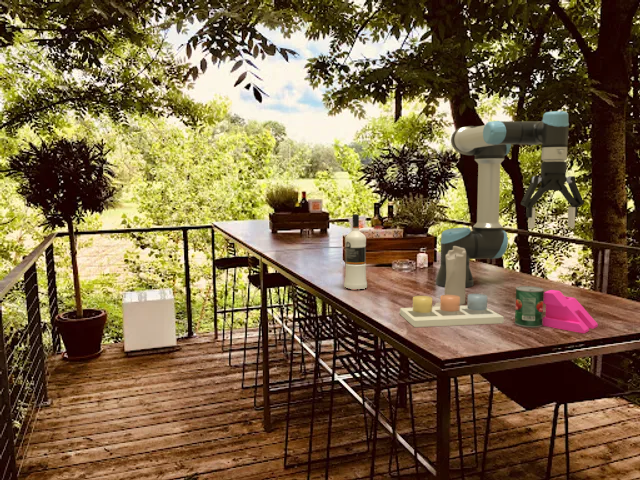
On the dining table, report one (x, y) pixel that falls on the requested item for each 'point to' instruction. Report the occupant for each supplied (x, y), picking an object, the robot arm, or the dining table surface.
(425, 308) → the ochre button
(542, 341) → the dining table surface
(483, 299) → the slate-blue button
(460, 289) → the beige tall tapered piece
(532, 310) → the canned tomato
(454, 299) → the terracotta button
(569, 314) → the bracket
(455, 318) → the panel
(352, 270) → the vodka
